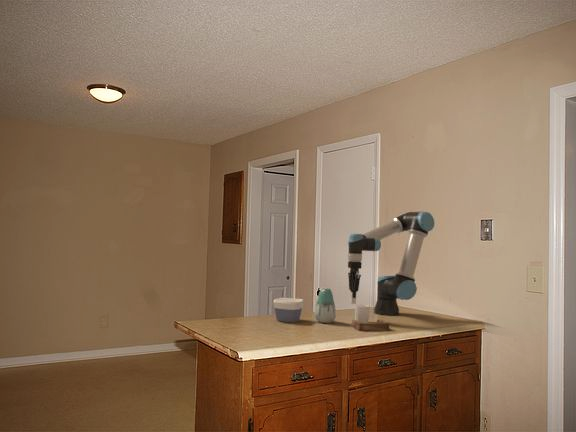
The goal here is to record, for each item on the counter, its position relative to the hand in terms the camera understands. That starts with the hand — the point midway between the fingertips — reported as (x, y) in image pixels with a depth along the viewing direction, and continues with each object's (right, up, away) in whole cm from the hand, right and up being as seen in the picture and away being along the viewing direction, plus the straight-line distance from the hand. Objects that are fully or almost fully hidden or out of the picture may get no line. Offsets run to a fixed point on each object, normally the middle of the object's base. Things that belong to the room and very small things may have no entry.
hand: (353, 303), depth 271 cm
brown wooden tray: (+6, -9, -22) cm, 25 cm away
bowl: (-36, -8, -7) cm, 38 cm away
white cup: (+3, -9, -12) cm, 15 cm away
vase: (-16, -9, -8) cm, 20 cm away
